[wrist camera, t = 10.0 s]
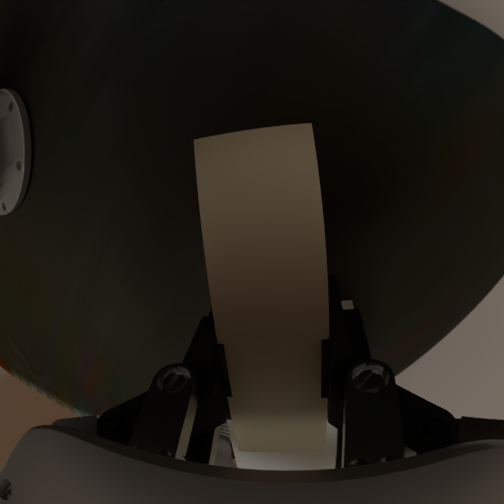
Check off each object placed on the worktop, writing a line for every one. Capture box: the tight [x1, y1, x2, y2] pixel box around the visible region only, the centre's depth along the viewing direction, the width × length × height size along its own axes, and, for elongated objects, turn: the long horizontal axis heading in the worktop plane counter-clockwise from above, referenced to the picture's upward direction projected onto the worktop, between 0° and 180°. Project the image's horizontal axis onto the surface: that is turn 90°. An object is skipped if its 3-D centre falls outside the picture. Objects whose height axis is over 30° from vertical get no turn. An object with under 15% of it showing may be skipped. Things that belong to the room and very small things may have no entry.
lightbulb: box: [215, 422, 236, 468], centre depth 23 cm, size 6×6×11 cm
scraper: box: [194, 123, 337, 470], centre depth 9 cm, size 16×6×4 cm, turn 10°
